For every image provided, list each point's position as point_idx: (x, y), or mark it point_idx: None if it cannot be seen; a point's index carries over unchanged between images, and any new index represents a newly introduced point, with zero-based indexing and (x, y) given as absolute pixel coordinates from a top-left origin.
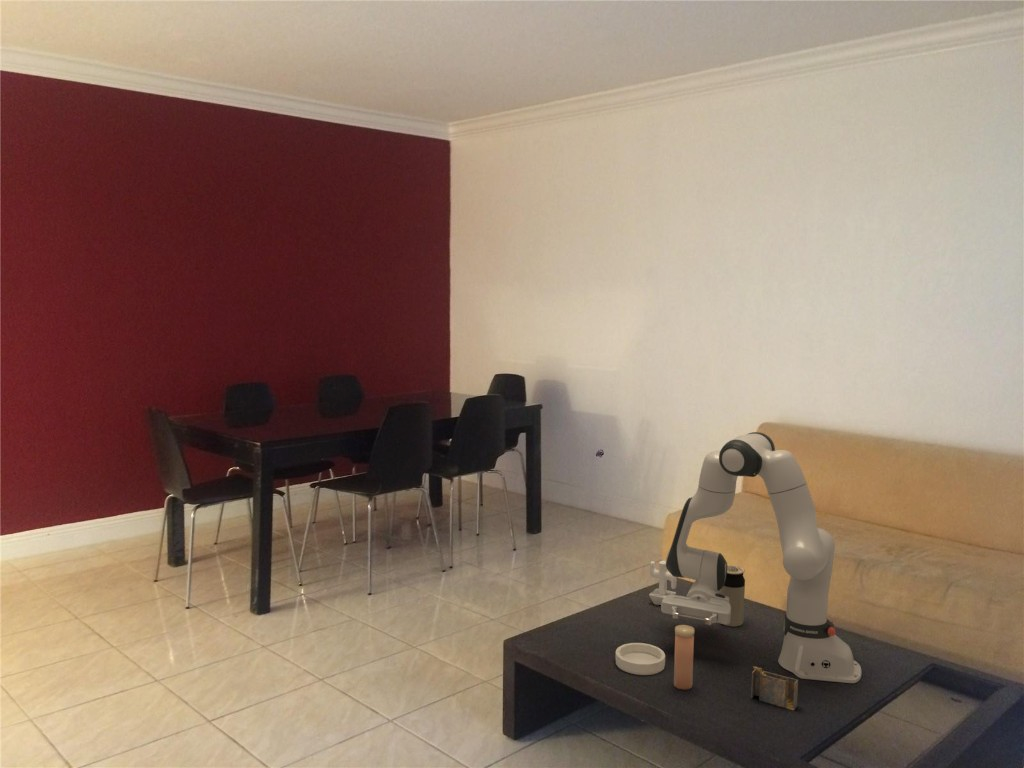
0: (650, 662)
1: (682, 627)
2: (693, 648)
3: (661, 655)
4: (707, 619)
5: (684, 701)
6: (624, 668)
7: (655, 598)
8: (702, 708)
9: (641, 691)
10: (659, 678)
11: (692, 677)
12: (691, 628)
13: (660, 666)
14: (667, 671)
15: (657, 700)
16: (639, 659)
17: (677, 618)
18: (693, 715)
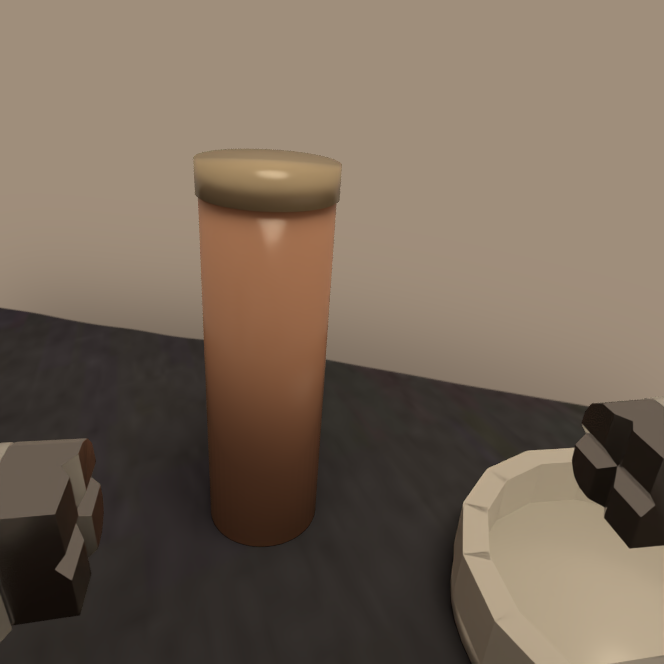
0: (497, 489)
1: (291, 164)
2: (202, 299)
3: (527, 626)
4: (51, 441)
5: None
6: None
7: None
8: (139, 392)
9: (407, 405)
10: (407, 515)
11: (209, 466)
12: (220, 161)
13: (456, 557)
14: (416, 612)
15: None
16: (660, 633)
17: (572, 460)
18: (170, 357)
